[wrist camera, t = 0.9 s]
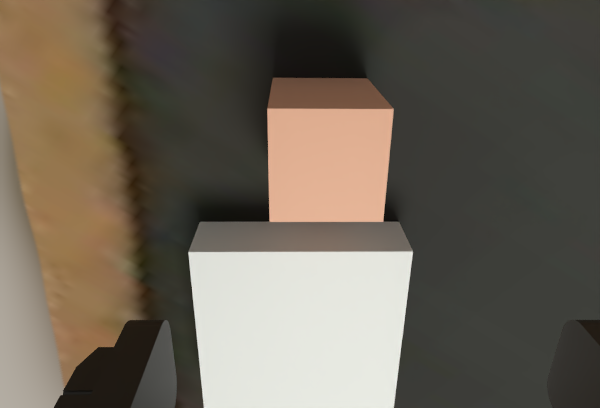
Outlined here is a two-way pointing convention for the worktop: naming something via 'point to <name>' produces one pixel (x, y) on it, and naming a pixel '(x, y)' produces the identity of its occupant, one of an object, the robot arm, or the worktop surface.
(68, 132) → the worktop surface
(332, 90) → the terracotta block
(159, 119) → the worktop surface
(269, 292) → the white block
